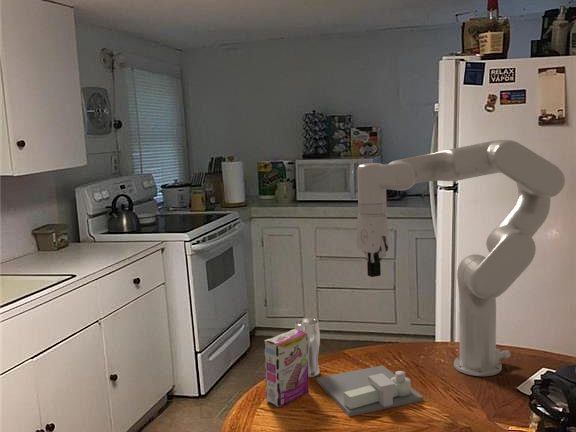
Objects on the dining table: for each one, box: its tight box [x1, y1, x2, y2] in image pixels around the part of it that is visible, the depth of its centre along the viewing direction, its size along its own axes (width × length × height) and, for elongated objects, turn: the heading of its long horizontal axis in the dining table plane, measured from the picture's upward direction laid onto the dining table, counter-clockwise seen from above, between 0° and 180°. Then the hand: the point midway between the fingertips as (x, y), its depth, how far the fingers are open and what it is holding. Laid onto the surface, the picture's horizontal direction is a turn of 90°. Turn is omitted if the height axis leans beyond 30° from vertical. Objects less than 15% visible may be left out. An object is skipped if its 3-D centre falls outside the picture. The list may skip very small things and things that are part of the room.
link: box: [344, 370, 412, 409], centre depth 137 cm, size 18×5×5 cm, turn 115°
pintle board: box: [316, 365, 424, 417], centre depth 144 cm, size 20×22×6 cm
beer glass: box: [294, 317, 321, 378], centre depth 156 cm, size 7×7×15 cm
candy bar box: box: [263, 328, 310, 408], centre depth 142 cm, size 11×5×16 cm, turn 136°
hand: (374, 275), depth 153 cm, fingers closed
